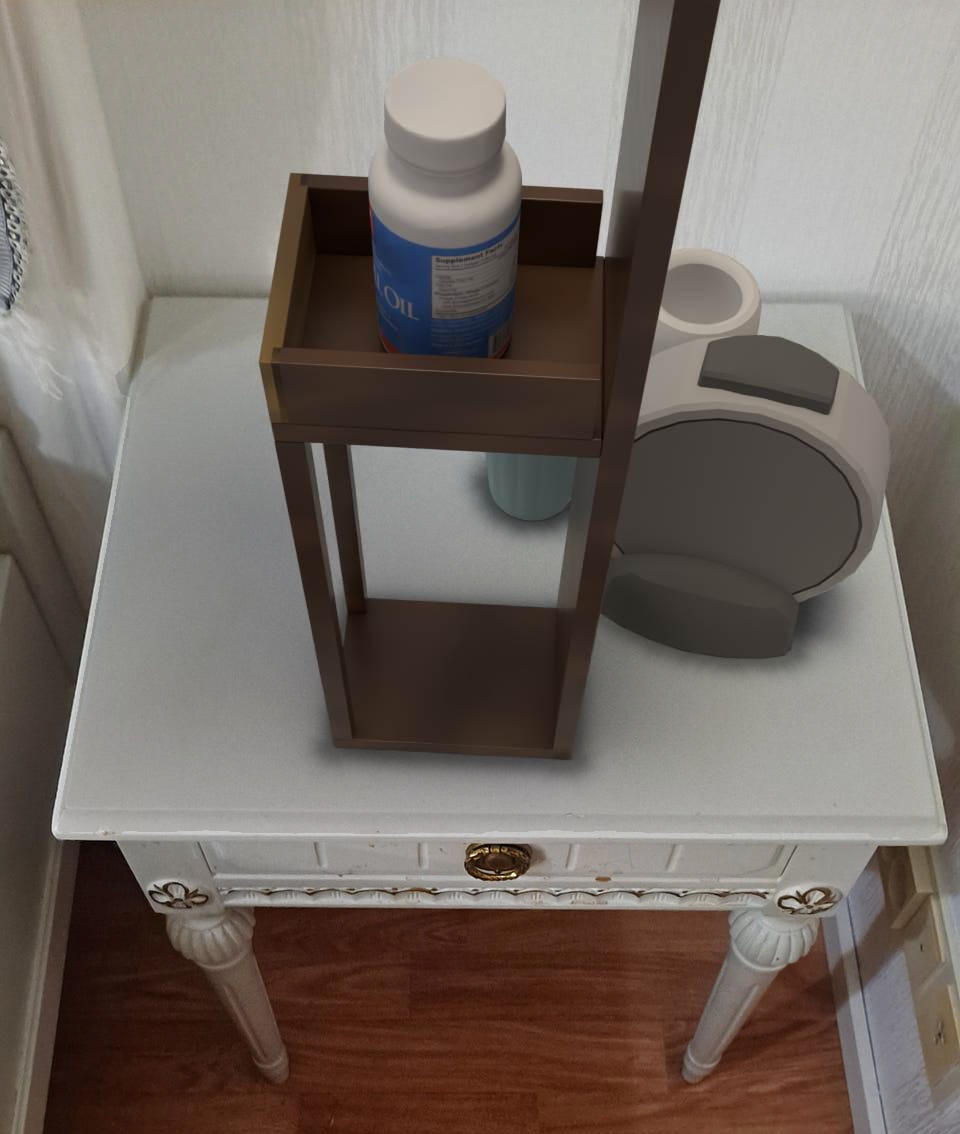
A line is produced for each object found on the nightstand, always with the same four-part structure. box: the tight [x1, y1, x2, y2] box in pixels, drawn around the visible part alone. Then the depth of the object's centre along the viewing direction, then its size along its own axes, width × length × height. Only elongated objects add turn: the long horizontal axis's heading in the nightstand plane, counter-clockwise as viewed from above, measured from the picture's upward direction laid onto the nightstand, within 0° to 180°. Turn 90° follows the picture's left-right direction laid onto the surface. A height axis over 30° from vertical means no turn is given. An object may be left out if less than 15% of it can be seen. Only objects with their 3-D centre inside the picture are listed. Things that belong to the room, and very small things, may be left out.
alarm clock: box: [600, 334, 892, 659], centre depth 65 cm, size 16×10×18 cm, turn 74°
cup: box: [484, 452, 577, 521], centre depth 72 cm, size 8×8×10 cm
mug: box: [650, 247, 763, 358], centre depth 76 cm, size 12×8×8 cm
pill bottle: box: [367, 57, 523, 359], centre depth 42 cm, size 6×5×10 cm
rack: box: [258, 0, 722, 761], centre depth 51 cm, size 14×10×42 cm
